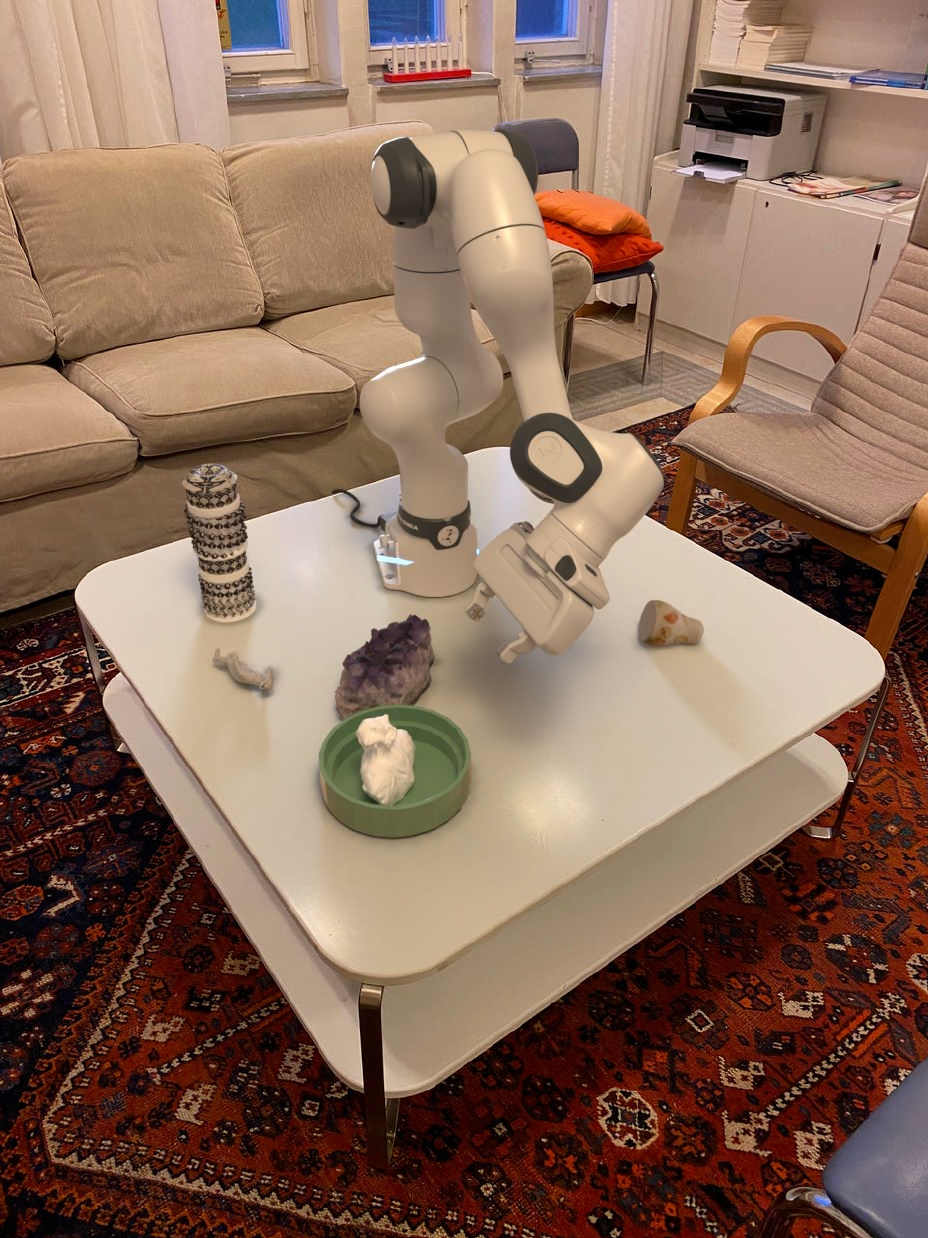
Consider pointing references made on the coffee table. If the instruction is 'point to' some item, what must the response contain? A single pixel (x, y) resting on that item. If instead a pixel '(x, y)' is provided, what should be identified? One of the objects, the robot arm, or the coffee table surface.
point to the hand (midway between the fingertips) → (485, 637)
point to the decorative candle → (219, 542)
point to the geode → (387, 668)
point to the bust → (385, 760)
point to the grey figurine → (245, 671)
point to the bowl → (435, 770)
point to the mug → (667, 625)
